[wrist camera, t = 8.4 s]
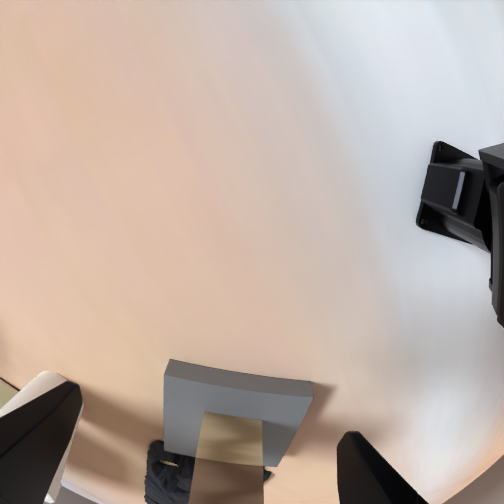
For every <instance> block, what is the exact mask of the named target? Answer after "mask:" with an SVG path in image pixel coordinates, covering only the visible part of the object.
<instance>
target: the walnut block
mask: <svg viewBox="0 0 504 504" xmlns="http://www.w3.org/2000/svg"><path fill="white" fill-rule="evenodd" d="M188 504H264V490H263V466H256V465H245V464H236V463H228V462H221V461H214V460H208V459H202V458H196V461H195V467H194V473H193V479H192V485H191V491H190V497H189V503H188Z"/></svg>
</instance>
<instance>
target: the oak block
mask: <svg viewBox="0 0 504 504" xmlns="http://www.w3.org/2000/svg"><path fill="white" fill-rule="evenodd" d="M196 458H202V459H208V460H214V461H221V462H228V463H236V464H245V465H256V466H263V451H262V420H260V419H252V418H244V417H236V416H230V415H223V414H217V413H211V412H206V411H204V413H203V419H202V424H201V430H200V436H199V441H198V447H197V453H196ZM195 461H196V459H195Z"/></svg>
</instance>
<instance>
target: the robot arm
mask: <svg viewBox="0 0 504 504" xmlns="http://www.w3.org/2000/svg"><path fill="white" fill-rule="evenodd" d="M439 145H440V146H441V151H440V150H439ZM478 151H479V156H480V160H478V159H476V158H474V157H472V156H470V155H469V154H467V153H465V152H463V151H461V150H459V149H457V148H455V147H453V146H451V145H449V144H447V143H445V142H442V141H436V142H435V143H434V145H433V150H432V155H431V160H430V164H429V165H428V169H427V174H426V178H425V183H424V187H423V191H422V195H421V203H420V207H419V211H418V214H417V218H416V225H417V226H418V227H420V228H422V229H425V230H428V231H431V232H435V233H438V234H441V235H444V236H448V237H451V238H454V239H457V240H460V241H463V242H466V243H469V244H474V245H476V246H478V247H479V248H481V249H483V250H485V251H487V252H488V253H490V254H491V278H490V279H489V288H490V290H491V291H492V305H493V307H494V310H495V312H496V314H497V321H498V323H499V324H500V325H501V326H502V327H503V328H504V143H502V144H498V145H495V146H491V147H487V148H484V149H480V150H478ZM422 219H424V223H423V224H421V221H422ZM82 404H83V399H82V395H81V391H80V387H79V385H78V384H77V383H74V382H72V381H65V382H63V383H62V384H60V385H58V386H56V387H54V388H53V389H51V390H49V391H47V392H46V393H44V394H42V395H40V396H38V397H37V398H35V399H33V400H31V401H29V402H27V403H26V404H24V405H22V406H20V407H18V408H17V409H15V410H13V411H11V412H9V413H7V414H6V415H4V416H2V417H0V504H43V503H44V500H45V498H46V495H47V493H48V490H49V488H50V485H51V483H52V481H53V478H54V476H55V474H56V471H57V469H58V467H59V464H60V462H61V460H62V458H63V455H64V453H65V451H66V449H67V447H68V445H69V442H70V440H71V437H72V434H73V431H74V428H75V425H76V422H77V419H78V416H79V413H80V410H81V407H82ZM337 484H338V493H339V500H340V504H429V503H428V502H426V501H425V500H424V499H423V498H422V497H421V496H420V495H419V494H418V493H417V492H416V491H415V490H414V489H413V488H412V487H411V486H410V485H409V484H408V483H407V482H406V481H405V480H404V479H403V478H402V477H401V475H400V474H399V473H398V472H397V471H396V470H395V469H394V468H393V467H392V466H391V465H390V464H389V463H388V462H387V461H386V460H385V459H384V458H383V457H382V456H381V455H380V454H379V453H378V451H377V450H376V449H375V448H374V447H373V446H372V445H371V444H370V443H369V442H368V441H367V440H366V439H365V438H364V436H363V435H362V434H361V433H360V432H358V431H348V432H346V433H345V435H344V436H343V438H342V439H341V441H340V442H339V443H338V446H337Z"/></svg>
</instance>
